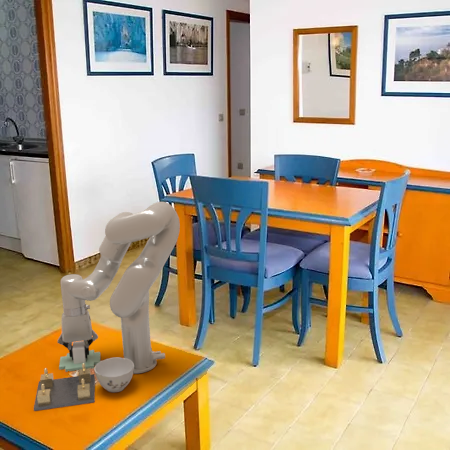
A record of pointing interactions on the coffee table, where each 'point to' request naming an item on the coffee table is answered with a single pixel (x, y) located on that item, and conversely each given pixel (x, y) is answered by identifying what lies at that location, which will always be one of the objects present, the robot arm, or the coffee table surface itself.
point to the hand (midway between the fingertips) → (79, 357)
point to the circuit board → (73, 367)
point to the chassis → (65, 390)
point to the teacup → (114, 373)
